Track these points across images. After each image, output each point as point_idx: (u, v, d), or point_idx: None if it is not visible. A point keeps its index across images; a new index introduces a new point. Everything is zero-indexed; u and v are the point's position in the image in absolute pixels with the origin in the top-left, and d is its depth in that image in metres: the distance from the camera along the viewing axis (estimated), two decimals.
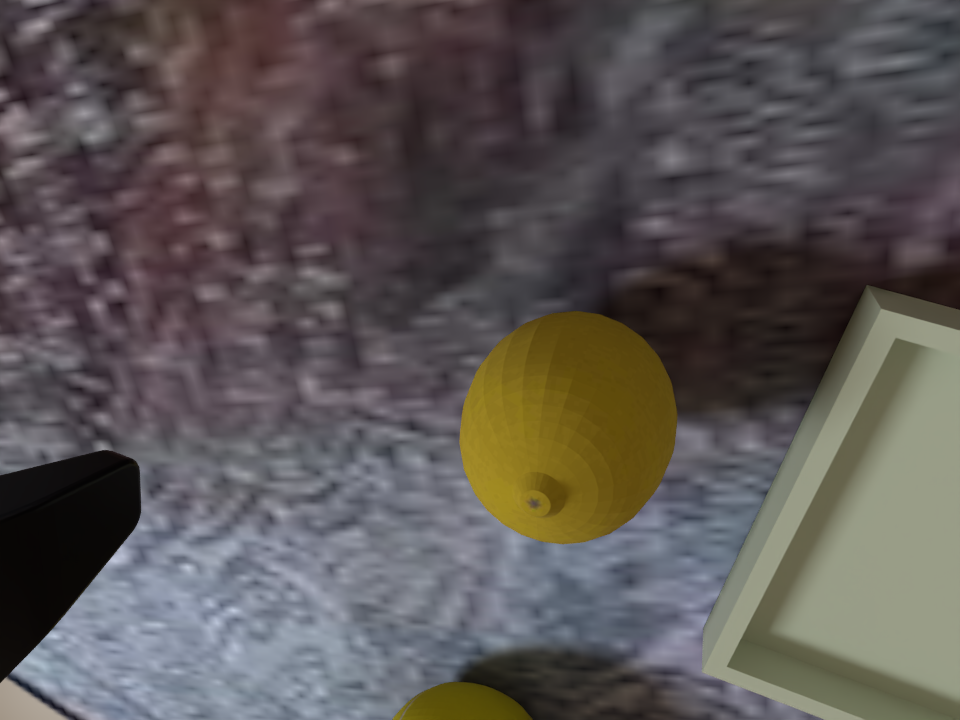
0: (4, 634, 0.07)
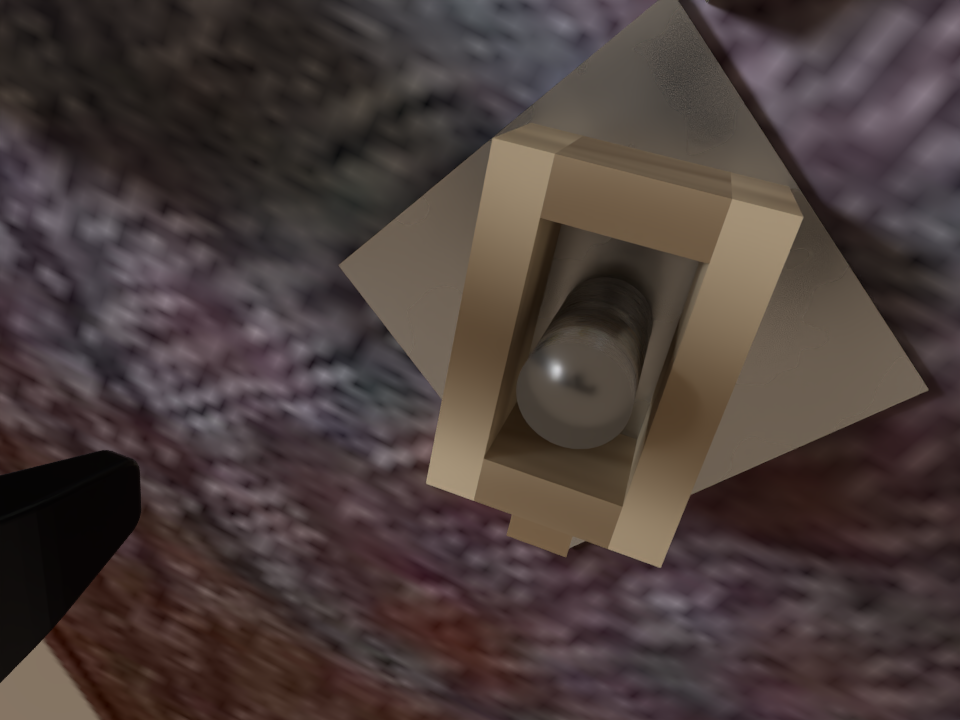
0: (4, 634, 0.07)
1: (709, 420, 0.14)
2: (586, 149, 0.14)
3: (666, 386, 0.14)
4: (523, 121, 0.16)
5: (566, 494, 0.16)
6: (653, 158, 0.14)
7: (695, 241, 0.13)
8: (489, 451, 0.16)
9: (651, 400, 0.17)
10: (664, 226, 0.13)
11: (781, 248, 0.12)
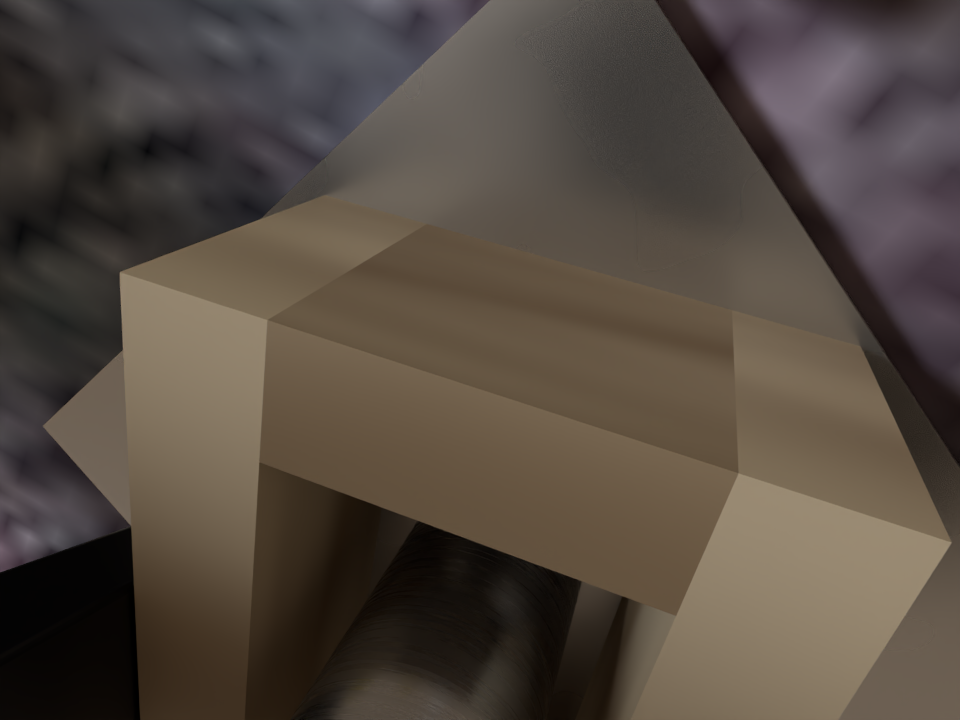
0: (136, 694, 0.07)
1: None
2: (394, 279, 0.06)
3: None
4: (310, 192, 0.08)
5: None
6: (560, 286, 0.07)
7: (638, 560, 0.05)
8: None
9: (583, 702, 0.09)
10: (555, 517, 0.05)
11: (877, 606, 0.04)
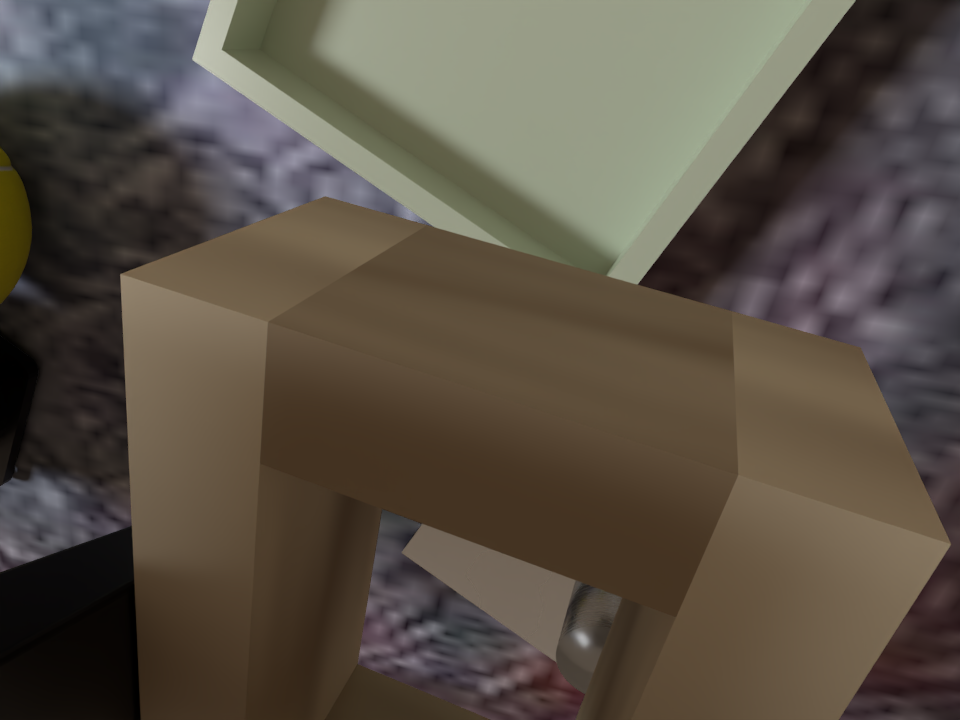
0: (136, 694, 0.07)
1: None
2: (394, 280, 0.06)
3: None
4: None
5: None
6: (560, 287, 0.07)
7: (638, 561, 0.05)
8: None
9: (583, 703, 0.09)
10: (556, 518, 0.05)
11: (877, 607, 0.04)
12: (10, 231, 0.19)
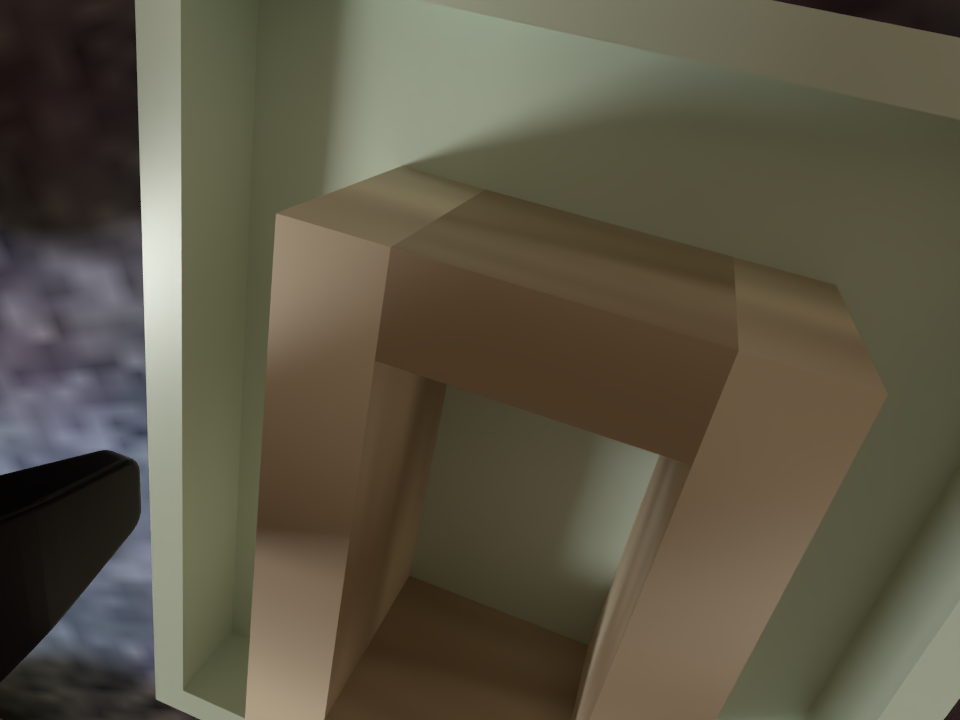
0: (4, 634, 0.07)
1: (694, 718, 0.08)
2: (471, 225, 0.08)
3: (616, 656, 0.08)
4: None
5: None
6: (597, 235, 0.08)
7: (665, 422, 0.06)
8: (338, 700, 0.10)
9: (607, 598, 0.11)
10: (604, 391, 0.06)
11: (838, 448, 0.06)
12: None
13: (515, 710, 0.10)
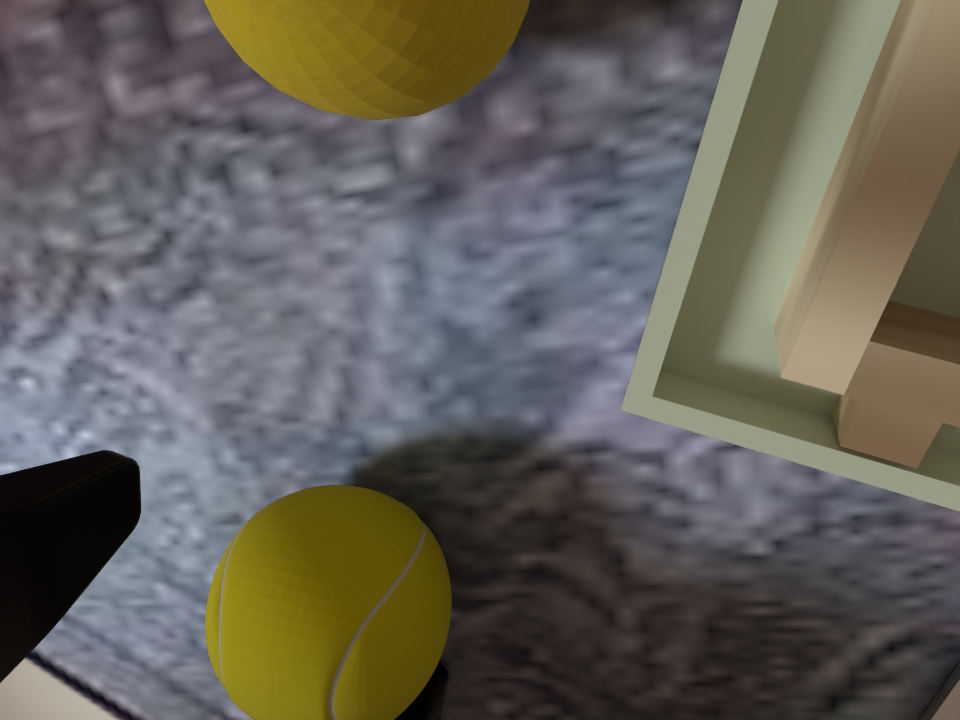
0: (4, 634, 0.07)
1: None
2: None
3: None
4: None
5: None
6: None
7: None
8: None
9: None
10: None
11: None
12: (448, 584, 0.21)
13: None
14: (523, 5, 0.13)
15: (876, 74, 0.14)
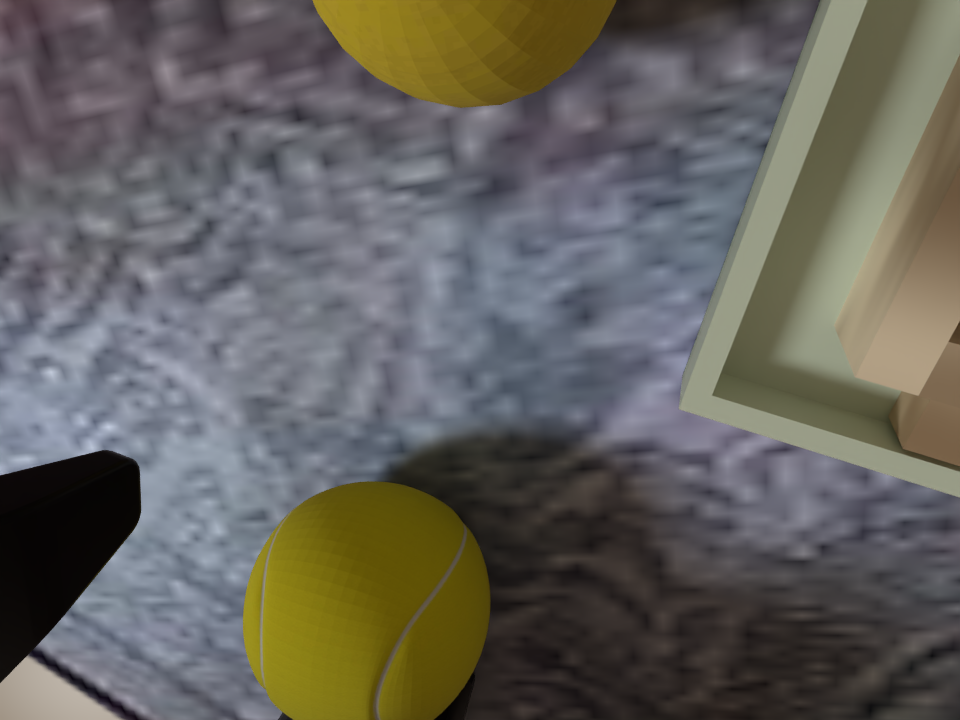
0: (4, 634, 0.07)
1: None
2: None
3: None
4: None
5: None
6: None
7: None
8: None
9: None
10: None
11: None
12: (488, 583, 0.21)
13: None
14: None
15: (957, 77, 0.14)
